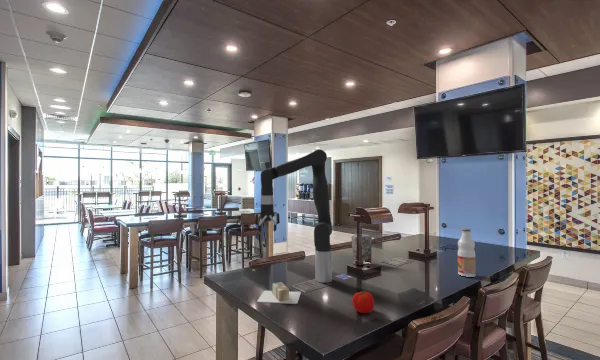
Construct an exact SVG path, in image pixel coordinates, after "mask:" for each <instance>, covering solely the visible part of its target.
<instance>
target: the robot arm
mask: <svg viewBox="0 0 600 360" xmlns="http://www.w3.org/2000/svg"><path fill="white" fill-rule="evenodd" d="M327 158H328V155H327V153H326V151H324V150H323V149H314V150H313V151H312V152H310V153H308V154H307V155H304V156H301V157H298V158H295V159H292V160H289V161H286V162H282V163H280V164H277V165H276V166H273V167H270V168H264V169H262V170H261V172H260V186H261V187H260V213H255V214H254V225H257V231H258V232H259V233H262V226H261V225H262V224H263V222H272V226H273V227H272V228H273V230H272V231H273V232H276V231H277V225H279V224H280V212H276V213H275V212H274V211H275V209H274V207H275V206H274V205H275V204H274V203H275V200H274V199H275V198H274V186H273V183H274V182H273V181H274V180H275V179H277V178H280V177H285V176H286V175H290V174H292V173H295V172H297V171H300V170H302V169H304V168H308V167H311V169H312V170H311V171H312V196H313V202H314V206H315V209H316V211H317V224H316V225H315V226H314V229H313V241H314V244H313V245H314V248H315V249H314V250H315V251H314V252H315V253H314V254H315V257H314V258H315V260H314V261H315V266H314V267H315V270H314V271H315V272H314V273H315V274H314V275H315V277H314V278H315V282H317V283H323V284H324V283H326V284H327V283H332V279H333V278H332V277H333V276H332V275H333V273H332V272H333V271H332V270H333V269H332V267H333V266H332V244H331V237H330V236H331V235H332V234H333V226H332V224H333V223H332V220H331V218H332V217H331V214H330V213H331V212H330V211H331V209H330V208H331V205H330V192H329V190H330V189H329V184H328V181H327V175H326V161H327ZM274 217H275V218H276V220H275V219H274ZM259 218H260V219H259ZM258 219H259V221H258Z"/></svg>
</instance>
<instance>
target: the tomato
mask: <svg viewBox="0 0 600 360" xmlns="http://www.w3.org/2000/svg"><path fill="white" fill-rule="evenodd" d="M352 305H353V308H354V309H355V311H356V312H359V313H360V314H368V313H371V312H372V311H373V309H374V307H375V299H374V296H373V295H372V293H370V292H367V291H366V290H363V291H360V292H355V293H354V294H353V296H352Z"/></svg>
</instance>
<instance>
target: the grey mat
mask: <svg viewBox="0 0 600 360" xmlns="http://www.w3.org/2000/svg"><path fill="white" fill-rule="evenodd" d="M301 295H302V292H301V291H290V290H289V300H285V301H278V300H277V298H276V297H275V296H274V295H273V294H272V290H264V291H263V292H262V294H261V295H260V296H259V298H258V299H257V301H256V303H265V304H267V303H268V304H285V305H286V304H288V305H289V304H291V305H292V304H293V305H297V304H298V302H299V300H300V297H301Z"/></svg>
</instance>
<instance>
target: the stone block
mask: <svg viewBox="0 0 600 360" xmlns="http://www.w3.org/2000/svg"><path fill="white" fill-rule="evenodd" d="M357 235H358V234H356V235H355V234H354V235H352V236H351V249H352V250H351V251H352V253H351V256H352V257H351V258H352V259H351V260H352V264H353V263H355V261H356V260H357ZM361 235H362V261H365V262H370V263H371V264H372V248H373V247H372V243H373V242H372V239H373V238H372V236H371V235H369V234H361Z"/></svg>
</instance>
